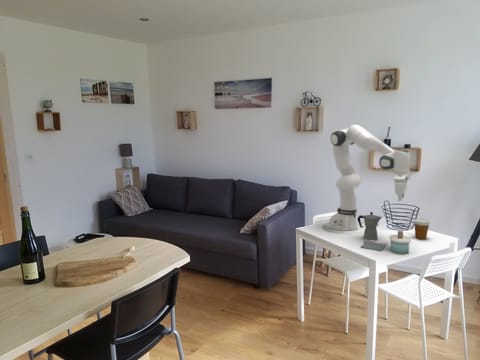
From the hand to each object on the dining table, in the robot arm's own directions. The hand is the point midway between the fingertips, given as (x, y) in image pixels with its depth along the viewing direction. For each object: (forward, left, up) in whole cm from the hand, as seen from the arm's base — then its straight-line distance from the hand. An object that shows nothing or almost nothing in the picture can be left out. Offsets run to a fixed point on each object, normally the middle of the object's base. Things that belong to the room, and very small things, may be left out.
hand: (401, 199), depth 213 cm
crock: (+2, -6, -30) cm, 31 cm away
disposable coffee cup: (+10, +25, -30) cm, 40 cm away
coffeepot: (-19, +8, -30) cm, 37 cm away
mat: (-13, -6, -30) cm, 34 cm away
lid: (+2, -6, -23) cm, 24 cm away
